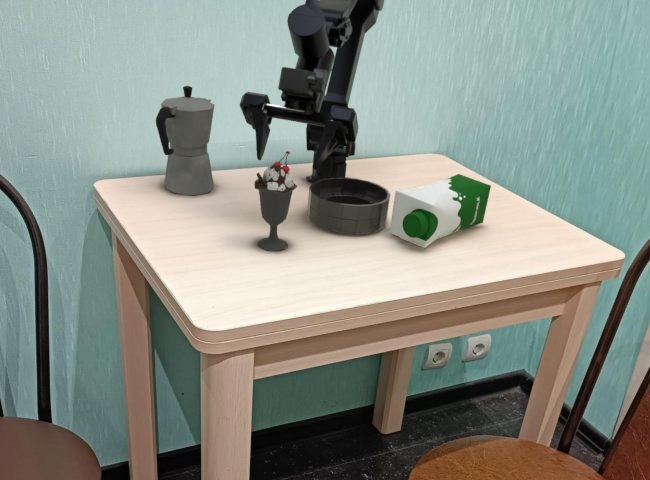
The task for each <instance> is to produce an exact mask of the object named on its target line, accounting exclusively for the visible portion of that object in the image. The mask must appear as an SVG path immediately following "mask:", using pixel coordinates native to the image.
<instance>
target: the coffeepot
mask: <svg viewBox="0 0 650 480" xmlns="http://www.w3.org/2000/svg"><path fill="white" fill-rule="evenodd" d="M182 90H183V95H184V96H177V97H170V98H165V99H164V100H163V101H162V102H161V103H160V105H161V106H160V107H161V108H160V109H159V110H158V113H157V114H156V118H155V127H156V129H157V132H158V136H159V140H160V144H161V147H162V151H163V154H164V155H165V156H167V160H166V167H165V169H166V170H165V175H164V181H163V187H164V188H165V189H166V190H167V191H169V192H171V193H174V194H176V195H177V194H178V195H182V196H200V195H205V194H208V193H209V192H212V190H213V187H214V185H215V184H214V177H213V172H212V165H211V160H210V154H209V152H208V145H209V143H210V138H211V131H212V124H213V117H214V112H215V111H214V110H215V103H213V102H211V101H212V99H207V98H205V97H194V96H192V94H193V87H192V86H191V85H185V86H183V87H182Z"/></svg>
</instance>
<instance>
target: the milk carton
mask: <svg viewBox="0 0 650 480" xmlns="http://www.w3.org/2000/svg"><path fill="white" fill-rule="evenodd" d="M491 187H492V185H491V184H488V183H485V182H482V181H480V180H476V179H474V178H471V177H468V176H465V175H463V174H460V173H458V174H455V175H453V176H450V177H449V178H446V179H441V180H439V181H435V182H432V183H428V184H425V185H422V186H418V187H411V188H404V189H403V188H402V189H396V190H395V191H394V199H393V205H392V213H391V219H390V224H389V225H390V227H389V233H390V234H392V235H394V236H397V237H399V238H400V239H401V240H404V241H406V242H409V243H412V244H414V245H416V246H419V247H421V248H423V249H425V248H427V247H428V246H429V245H430V244H432V243H434V241H436V240H439V239H441V238H444V237H446V236H448V235H452V234H454V233H457V232H459V231H462V230H464V229H465V230H466V229H468V228H471V227H474V226H477V225H480V224H483V223H484V219H485V215H486V211H487V206H488V201H489V196H490V192H491Z"/></svg>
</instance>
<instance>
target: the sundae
mask: <svg viewBox="0 0 650 480" xmlns="http://www.w3.org/2000/svg"><path fill="white" fill-rule="evenodd" d="M290 154H291V152H290V151H285V154H284V155H283V157H282V158H281V159H280V160H279V161H274V163H273V164H272V165H270V166H267V168H266V169H265V170H264V171H263V174H262V175H261V173H260V172H256V177H257V179H256V180H254V184H253V185H254V189H256V190H258V196H259V204H260V205H259V206H260V212H261V217H262V219H263V220H264V221H265V223H267V224H268V226H269V234H268V237H265V238H264V237H263V238H261V239H259V240H258V242H257V246H258V247H259V248H260V249H262V250H264V251H269V252H280V251H285V250H286V249H287V248H288V246H289V244H288V242H287V241H286V240H284V239H281V238H279V236H278V226H279V225H281V224H282V223H284V221H286V220H287V217H288V214H289V210H290V204H291V199H292V195H293V191H295V189H297V188H298V185H297V184H296V183H295V180H294V178H293V176H292V175H291V173H289V172H290V170H291V168H290V167H289V166H288V163H287V162H288V161H287V160H288V156H289V155H290ZM284 158H285V165H283V166H282V164H281V162H282V161H283V159H284Z"/></svg>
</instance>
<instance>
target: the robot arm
mask: <svg viewBox="0 0 650 480" xmlns="http://www.w3.org/2000/svg"><path fill="white" fill-rule="evenodd" d="M384 3H385V0H305V3H304V4H301V5H298V6H296V7H295V8H293V10H292V11H290V13H288V15H287V19H286V21H287V27H288V31H289V35H290V40H291V43H292V48H293V52H294V53H295V55H297V56H298V57H297V61H296V64H295V68H294V67H287V66H283V67H281V70H280V75H279V80H278V81H279V82H278V87H277V90H279V91H281V93H280V94H281V95H280V98H281V101H282V102H284V105H280V104H279V105H278V104H272V103H271V100H270V98H269V95H268V94H265V93H260V92H259V93H258V92H252V91H246V92H245V93H244V94H243V95H242V96H241V99H240V102H239V107H240V110H241V113H242V115H243V117H244V120H245V123H246V124H248V125H250V126H251V128H252V129H253V130H254V131H255V144H256V145H255V146H256V159H257V161H262V158H263V156H264V155H265V151H266V148H267V147H266V146H267V144H268V140H269V137H270V133H271V128H270V125H271V124H272V121H273V119H279V120H284V121H291V122H295V123H300V124H306V128H305V139H306V140H305V141H306V151H307V152H311V151H312V152H313V157H312V166H311V167H312V168H311V171H312V172H311V175H307V176H305V180H307V181H309V182H310V183H311V184H312V183H313V182H315V181H317V180H320V179H325V178H334V177H346V175H347V165H348V164H347V158H350V157H354V156H355V155H356V149H357V148H356V147H357V144H356V141H357V138H358V137H357V136H358V133H359V123H358V115H357V112H356V110H355V108H353V107H349V103H350V99H351V94H352V90H353V85H354V82H355V78H356V73H357V69H358V65H359V60H360V57H361V53H362V52H361V51H362V47H363V44H364V39H365V35H366V33H367V32H368V31H369V30H371V28H372V27H373V26H375V25H376V24H377V20H378V17H379V14H380V12H381V11H383V9H384ZM332 48H336V51H335V52H334V50H333V49H332Z"/></svg>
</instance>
